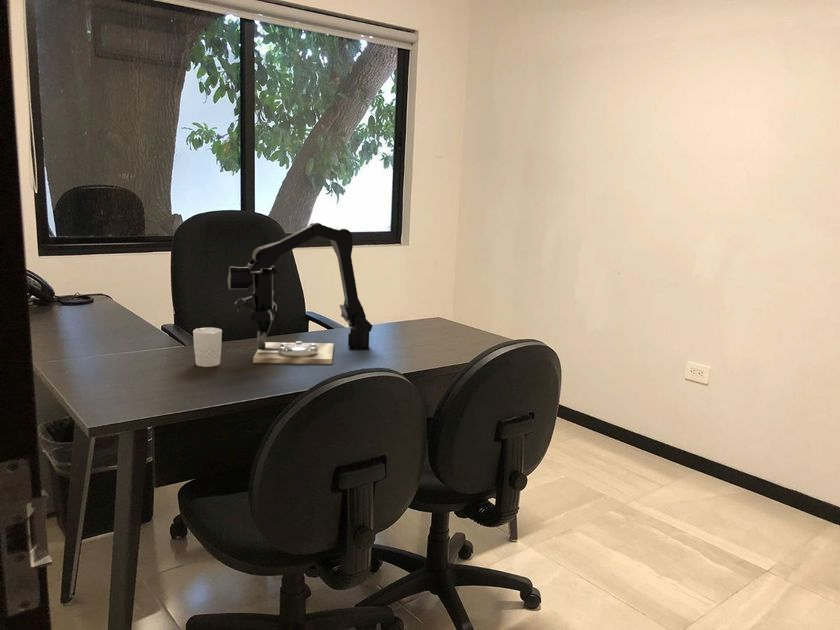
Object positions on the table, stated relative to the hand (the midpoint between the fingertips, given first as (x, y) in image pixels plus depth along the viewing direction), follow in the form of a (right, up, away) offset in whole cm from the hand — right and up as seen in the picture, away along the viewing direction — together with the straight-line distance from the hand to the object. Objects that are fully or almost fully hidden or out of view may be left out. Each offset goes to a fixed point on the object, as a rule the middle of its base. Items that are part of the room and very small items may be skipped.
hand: (263, 338), depth 201 cm
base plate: (+10, -5, +1) cm, 11 cm away
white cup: (-13, -7, -13) cm, 20 cm away
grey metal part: (+8, -4, -3) cm, 9 cm away
